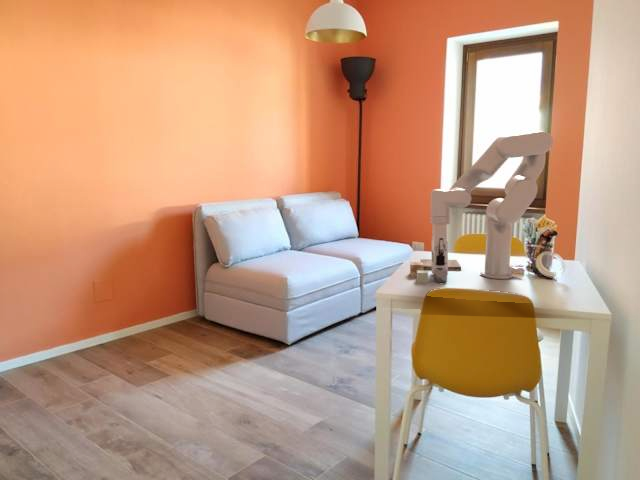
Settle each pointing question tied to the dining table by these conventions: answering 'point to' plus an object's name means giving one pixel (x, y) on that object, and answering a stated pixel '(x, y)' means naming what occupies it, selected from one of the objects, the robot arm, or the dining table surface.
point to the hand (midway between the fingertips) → (439, 263)
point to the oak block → (415, 268)
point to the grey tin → (440, 275)
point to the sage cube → (422, 276)
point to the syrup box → (434, 254)
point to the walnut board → (451, 264)
